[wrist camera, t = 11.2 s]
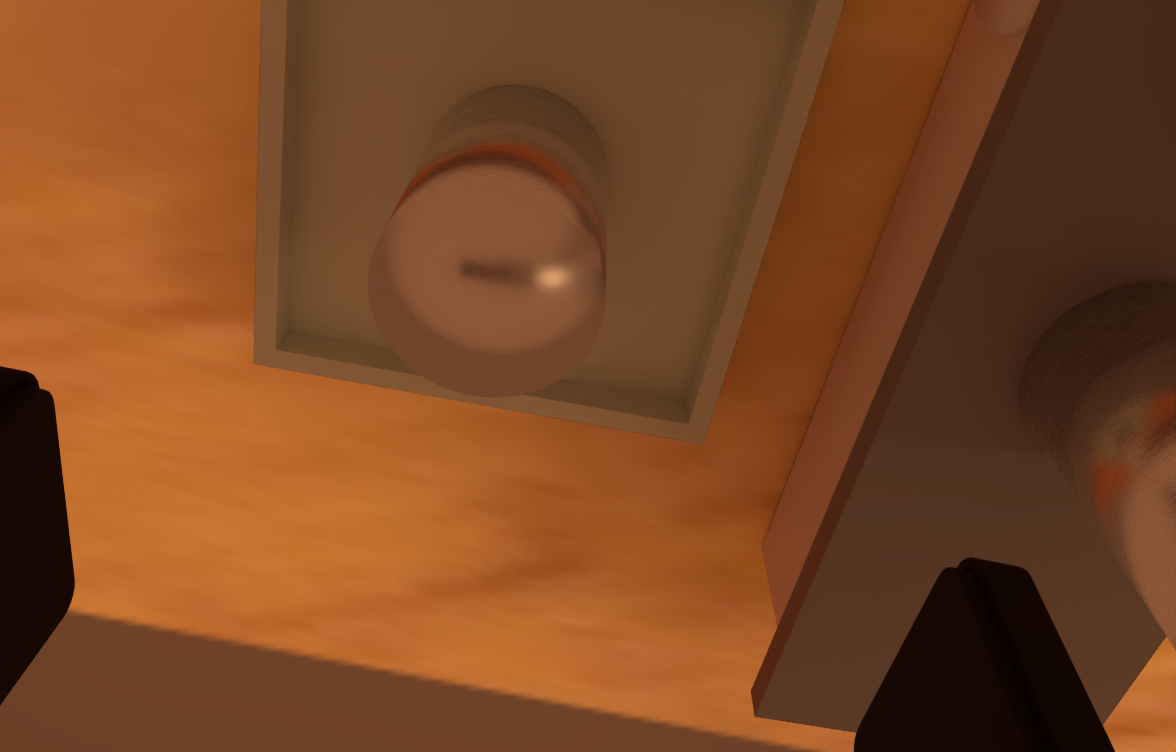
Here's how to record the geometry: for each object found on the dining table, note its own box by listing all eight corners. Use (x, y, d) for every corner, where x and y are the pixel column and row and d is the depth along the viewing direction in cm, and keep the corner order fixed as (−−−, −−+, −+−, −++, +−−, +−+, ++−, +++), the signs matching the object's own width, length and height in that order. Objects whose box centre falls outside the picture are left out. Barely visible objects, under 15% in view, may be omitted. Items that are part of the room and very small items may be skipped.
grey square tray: (296, -159, 19) (264, -156, 17) (832, -40, 20) (852, -24, 18) (278, 324, 24) (253, 363, 23) (697, 401, 25) (703, 444, 24)
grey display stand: (1066, -335, 17) (1228, -385, 13) (1491, -227, 18) (1792, -237, 13) (732, 570, 28) (754, 716, 24) (1001, 615, 29) (1073, 766, 24)
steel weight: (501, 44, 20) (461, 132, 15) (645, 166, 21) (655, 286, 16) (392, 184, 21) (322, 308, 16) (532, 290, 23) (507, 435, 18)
